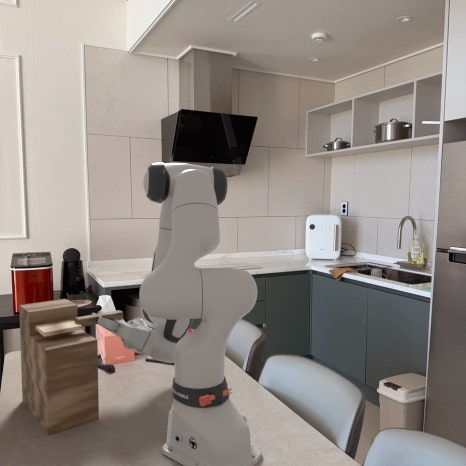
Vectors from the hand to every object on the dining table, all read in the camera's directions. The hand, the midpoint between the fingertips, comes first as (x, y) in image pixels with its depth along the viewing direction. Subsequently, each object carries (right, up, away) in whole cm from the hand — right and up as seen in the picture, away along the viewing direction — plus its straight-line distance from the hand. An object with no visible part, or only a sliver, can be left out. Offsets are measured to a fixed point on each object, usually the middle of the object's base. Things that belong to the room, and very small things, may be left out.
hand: (95, 317), depth 116 cm
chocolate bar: (+17, -21, +34) cm, 44 cm away
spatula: (-3, -2, -2) cm, 4 cm away
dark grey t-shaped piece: (-7, -22, +28) cm, 36 cm away
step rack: (-9, -23, -1) cm, 25 cm away
